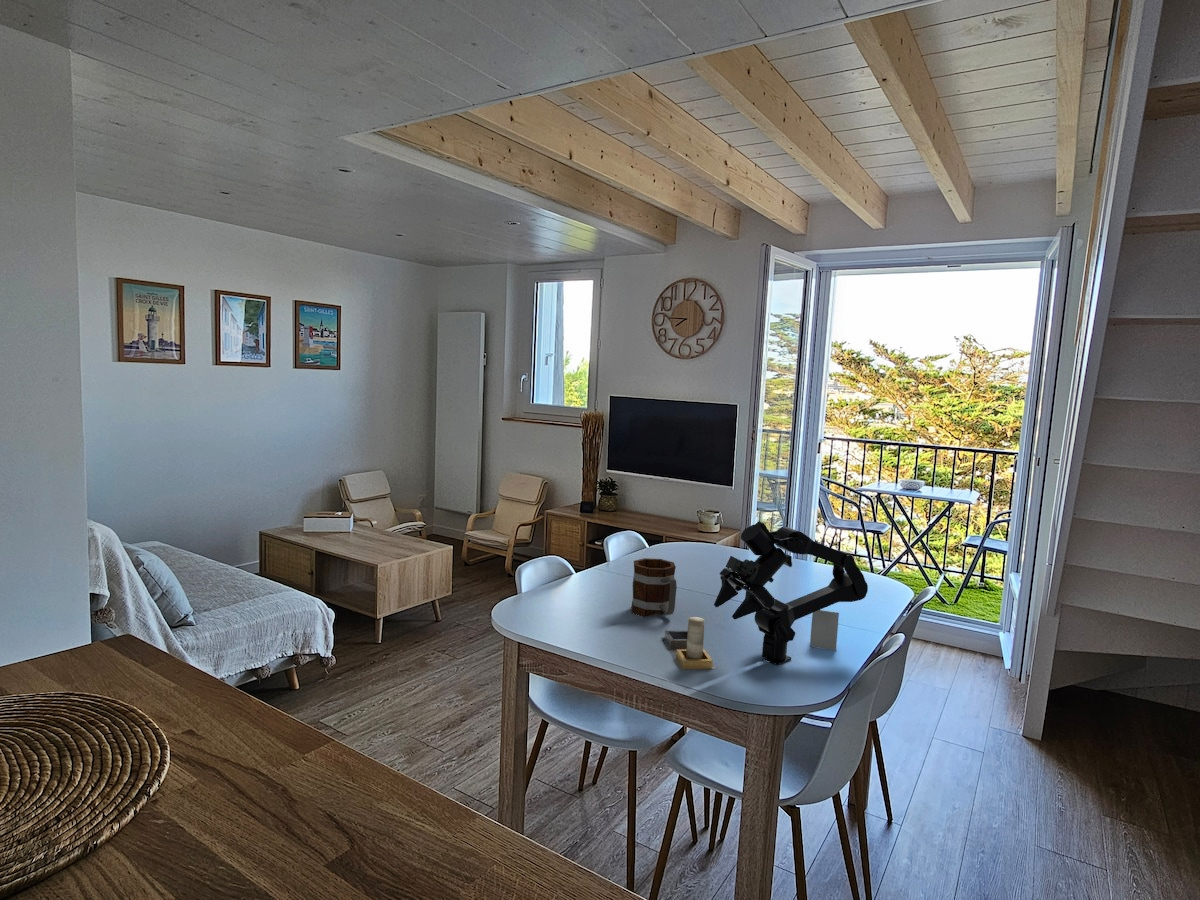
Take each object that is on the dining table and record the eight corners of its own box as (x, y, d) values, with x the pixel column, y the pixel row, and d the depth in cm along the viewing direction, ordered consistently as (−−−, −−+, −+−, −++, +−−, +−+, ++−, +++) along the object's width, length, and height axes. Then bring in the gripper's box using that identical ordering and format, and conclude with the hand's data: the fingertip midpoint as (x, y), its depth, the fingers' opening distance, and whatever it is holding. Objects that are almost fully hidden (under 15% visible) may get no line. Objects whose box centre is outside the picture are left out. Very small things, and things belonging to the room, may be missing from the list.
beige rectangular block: (835, 650, 188) (838, 614, 187) (809, 646, 191) (812, 611, 190) (836, 646, 192) (839, 610, 191) (810, 641, 194) (813, 607, 193)
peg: (687, 658, 175) (689, 616, 174) (703, 660, 174) (705, 618, 173) (684, 664, 171) (687, 621, 170) (700, 666, 170) (703, 623, 169)
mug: (622, 606, 218) (625, 559, 216) (660, 602, 223) (663, 556, 222) (651, 627, 200) (654, 576, 198) (692, 623, 205) (695, 573, 204)
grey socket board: (660, 641, 189) (661, 630, 189) (692, 641, 190) (693, 630, 190) (679, 674, 168) (680, 661, 168) (715, 673, 170) (716, 660, 169)
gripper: (728, 537, 183) (688, 580, 180) (767, 555, 165) (723, 602, 163) (752, 565, 186) (713, 608, 184) (793, 585, 169) (750, 633, 166)
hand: (723, 612), depth 174 cm, fingers open, 9 cm apart
